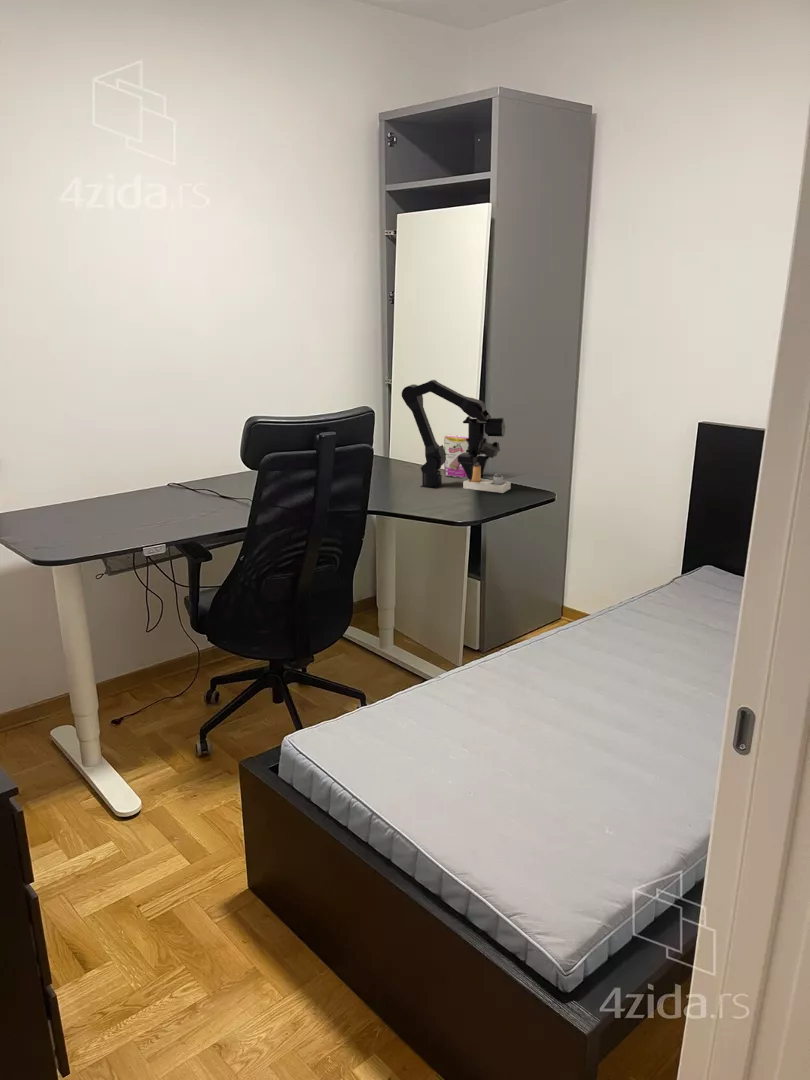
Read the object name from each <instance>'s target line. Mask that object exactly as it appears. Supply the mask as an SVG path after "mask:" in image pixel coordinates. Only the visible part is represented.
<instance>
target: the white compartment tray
mask: <svg viewBox="0 0 810 1080" xmlns="http://www.w3.org/2000/svg"><path fill="white" fill-rule="evenodd" d="M462 483H463V484H462V485H463V487H462V489H465V490H466V489H467V490H472V491H473V490H475V491H482V492H492V493H499V494H504V493H506V492H508V491H509V490H511V487H512V486H511V484H512V482H511V481H505V480H503V485H494V484H493V479H486V478H481V482H479V483H477V482H471V480H469V479H465V480H464V481H463V482H462Z"/></svg>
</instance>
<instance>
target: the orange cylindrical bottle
mask: <svg viewBox="0 0 810 1080" xmlns="http://www.w3.org/2000/svg"><path fill="white" fill-rule="evenodd" d="M481 476H482V475H481V466H480V465H479V462H477V463H476V464H475V465H474V468H473V476H472V480H471V482H477V483H479V482H481V479H482V478H481Z"/></svg>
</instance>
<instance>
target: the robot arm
mask: <svg viewBox="0 0 810 1080" xmlns="http://www.w3.org/2000/svg"><path fill="white" fill-rule="evenodd" d="M428 393H433V394H434V395H436V396H438V397H439V398H442V399H444V400H445V401H447V402H449V403H451V404H453V405H455V406H456V407H458V408H460V410H461V411H463V412H464V413H465V415H467V416H466V418H465V419H464V420H463V421H462V423H463V424H468V429H467V430H468V431H467V432H468V433H467V434H468V435H467V436H468V438H467V439H466V442H468V449H467V450H466V453H462V454H460V455H459V456H458V462H459V463H460V464H461V465H462V467H463V469H464V471H465V473H466V475H467V477H466V478H468V479H469V480H472V476H473V468H474V465H475V464H476V463H477V462H479V465H480V466H481V476H483V474H484V471H485V467H486V465H487V462H488V461H489V459H490V458H491V459H493V458H494V457H497V455H498V452H500V451H501V450H500V449H501V447H500V443H499V442H497V441H494V442H493V443H491V442H490V443H489V442H487V441H488V440H487V437H502V438H503V437H505V434H506V425H505V420H504V419H505V418H504V417H492V416H491V414H490V413H489V412H488V410H487V407H486V404H485V402H484V401H483V400H480V399H476V398H475V397H474V398H473V397H469V396H465V395H464V394H461V393H459V392H458V391H456V390H453V389H451V388H450V387H448V386H446V385H444V384H442V383H440V382H438V381H437V379H430V380H429V381H427V382H424V383H422V384H419V385H418V384H413V383H412V384H410V385H407V386H404V388H403V389H402V391H401V398H402V400H403V402H404V403H405V404H406V406H407V408H409V410H410V411H411V412H412V416H413V418H414V420H415V423H416V426H417V428H418V431H419V434H420V436H421V439H422V442H423V445H424V454H425V456H424V457H425V461H426V462H425V463H424V464H423V465H422V466H421V467H420V471H421V473H422V474H421V475H422V478H421V479H422V484H421V485H420V488H427V489H437V488H440V487H442V486H443V483H442V481H443V480H442V478H443V477H442V474H441V470H440V469H441V468H442V466H443V465H444V463H445V461H446V455H447V454H446V453H445V451H444V444H442V445H439V444H438V442H437V441H436V437H435V435H434V433H433V430H432V427H431V425H430V421H429V419H428V416H427V413H426V411H425V408H424V397H423V396H424V395H425V394H428ZM485 435H487V437H485ZM468 479H467V480H468Z"/></svg>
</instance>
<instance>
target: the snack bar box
mask: <svg viewBox="0 0 810 1080" xmlns="http://www.w3.org/2000/svg"><path fill="white" fill-rule="evenodd" d="M443 437H444V438H443V439H444V440H443V441H444V442H443V443H444V444H443V447H444V451H445V453H446V454H447V455H446V461H445V463H444V464H443V465H444V470H443V471H444V474H443V475H450V476H456V477H463V478H462V479H464V478H468V477H467V475H466V473H465V471H464V469H463V467H462V465H461V464H460V463H459V462H458V456H459V455H460V454H462V453H466V450H467V449H468V442H466V439H467V438H468V435H459V434H448V435H445V436H443Z"/></svg>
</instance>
